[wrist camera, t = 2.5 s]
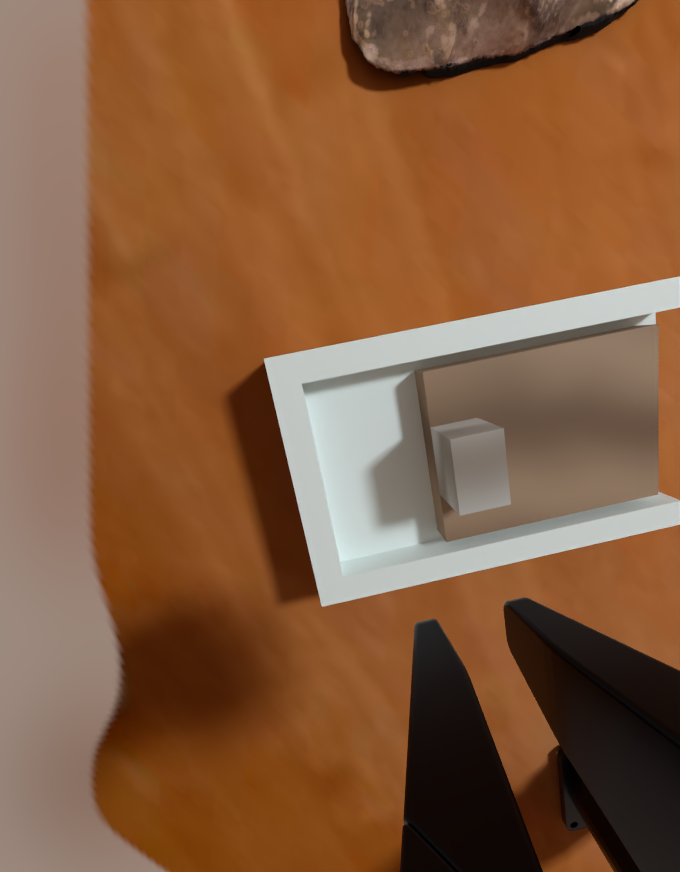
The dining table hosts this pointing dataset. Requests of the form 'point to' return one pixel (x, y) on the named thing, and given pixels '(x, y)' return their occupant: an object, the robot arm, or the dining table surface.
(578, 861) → the dining table surface
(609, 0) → the shell
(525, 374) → the cover plate
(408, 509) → the open box
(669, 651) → the dining table surface
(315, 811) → the dining table surface
